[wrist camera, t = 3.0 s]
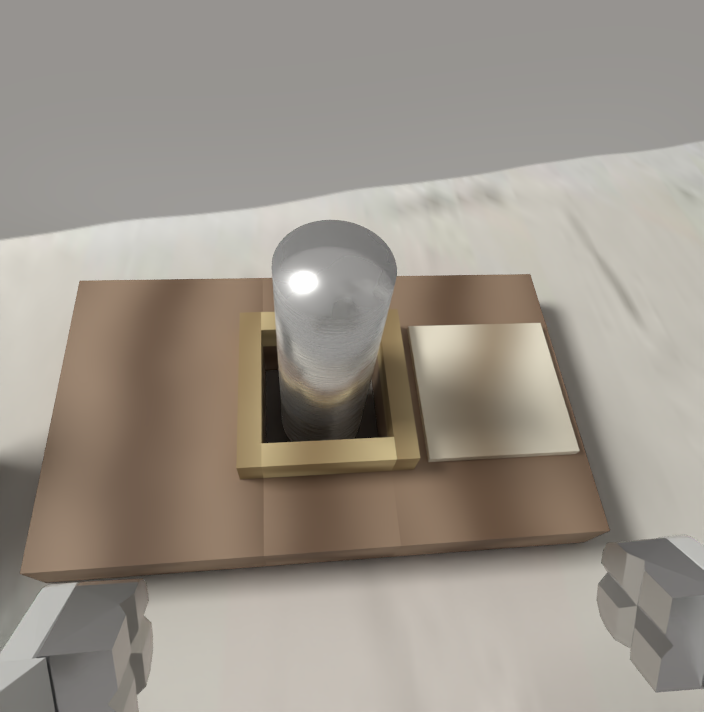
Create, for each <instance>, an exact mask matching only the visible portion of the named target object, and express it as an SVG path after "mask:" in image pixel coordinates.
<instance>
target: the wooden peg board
mask: <svg viewBox="0 0 704 712" xmlns="http://www.w3.org/2000/svg"><path fill="white" fill-rule="evenodd" d="M269 370H279V368H278V353H277V338H276V324H275V309H274V295H273V280H272V278H241V279H171V280H102V281H80V282H79V286H78V291H77V296H76V301H75V306H74V311H73V316H72V321H71V326H70V330H69V335H68V340H67V345H66V350H65V355H64V360H63V365H62V370H61V375H60V379H59V384H58V389H57V394H56V399H55V404H54V409H53V414H52V419H51V423H50V428H49V433H48V438H47V443H46V448H45V453H44V458H43V463H42V467H41V472H40V477H39V482H38V487H37V492H36V497H35V502H34V507H33V511H32V516H31V521H30V526H29V531H28V536H27V541H26V546H25V551H24V555H23V560H22V565H21V570H20V574H22V575H25V576H28V577H31V578H34V579H36V580H39V581H42V582H45V583H50V582H63V581H77V580H90V579H103V578H117V577H130V576H143V575H157V574H170V573H183V572H196V571H210V570H223V569H236V568H250V567H263V566H276V565H290V564H303V563H316V562H329V561H343V560H356V559H369V558H383V557H396V556H409V555H423V554H436V553H449V552H462V551H476V550H489V549H502V548H516V547H529V546H542V545H556V544H569V543H582V542H586V541H588V540H590V539H593V538H595V537H597V536H599V535H602V534H604V533H606V532H608V531H610V529H609V526H608V523H607V519H606V516H605V513H604V510H603V507H602V503H601V500H600V497H599V494H598V490H597V487H596V484H595V481H594V478H593V474H592V471H591V468H590V465H589V462H588V458H587V455H586V452H585V449H584V445H583V442H582V439H581V436H580V433H579V429H578V426H577V423H576V420H575V417H574V413H573V410H572V407H571V404H570V401H569V397H568V394H567V391H566V388H565V384H564V381H563V378H562V375H561V372H560V368H559V365H558V362H557V359H556V356H555V352H554V349H553V346H552V343H551V339H550V336H549V333H548V330H547V327H546V323H545V320H544V317H543V314H542V311H541V307H540V304H539V301H538V298H537V294H536V291H535V288H534V285H533V282H532V278H531V275H530V274H518V275H449V276H397V277H396V282H395V286H394V290H393V294H392V298H391V302H390V306H389V310H388V314H387V318H386V322H385V326H384V330H383V334H382V338H381V342H380V346H379V350H378V354H377V358H376V362H375V366H374V370H373V374H372V387H373V396H374V404H375V413H376V422H377V430H378V438H362V439H342V440H322V441H301V442H281V443H266V371H269Z"/></svg>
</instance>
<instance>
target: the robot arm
mask: <svg viewBox="0 0 704 712" xmlns="http://www.w3.org/2000/svg"><path fill="white" fill-rule="evenodd" d="M601 563H602V565H603V566H604V568H605V569H606V571H607V574H606V575H605V576H604V577H603V578H602V580H601V581H600V582H599V583H598V591H597V604H598V608H599V613H600V617H601V619H602V621H603V623H604V625H605V627H606V629H607V630H608V632H609V633H610V634H611V636H612V637H613V638H614V639H615V640H616V641H618V642H620V643H622V644H623V645H625V646H627V647H629V648H630V660H631V662H632V663H633V664H634V666H635V667H636V668H637V669H638V671H639V672H640V673H641V674H642V676H643V677H644V678H645V680H646V681H647V682H648V683H649V685H650V686H651V687H652V689H653V690H654V691H655V692H667V691H679V690H692V689H704V545H703V544H701V543H700V542H699V541H698V540H696V539H695V538H693V537H691V536H688V535H676V536H667V537H659V538H656V539H645V540H633V541H622V542H610V543H607V544H606V546H605V548H604V549H603V553H602V560H601ZM148 601H149V597H148V591H147V584H146V582H145V581H144V579H143V578H142V579H124V580H107V581H89V582H81V583H78V582H74V583H61V584H49V585H47V586H45V587H44V588H42V589H41V590H40V592H39V594H38V595H37V597H36V598H35V600H34V601H33V603H32V604H31V606H30V608H29V609H28V611H27V612H26V614H25V615H24V617H23V618H22V620H21V622H20V623H19V625H18V626H17V628H16V629H15V631H14V632H13V634H12V636H11V637H10V639H9V640H8V642H7V643H6V645H5V646H4V648H3V650H2V651H1V653H0V712H139V709H138V701H137V695H138V694H139V693H140V692H141V691H142V690H143V689H144V688H145V687H146V685H147V681H148V677H149V674H150V669H151V662H152V654H153V632H152V623H151V622H150V621H149V620H148V619H147V618H146V617H145V616H144V613H145V610H146V607H147V604H148Z"/></svg>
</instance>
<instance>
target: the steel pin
mask: <svg viewBox="0 0 704 712" xmlns="http://www.w3.org/2000/svg"><path fill="white" fill-rule="evenodd" d="M396 277H397V266H396V262H395V258H394V256H393V254H392V252H391V250H390V248H389V247H388V246H387V244H386V243H385V242H384V241H383V240H382V239H381V238H380V237H379V236H377V235H376V234H375V233H373V232H372V231H370V230H368V229H367V228H364V227H362V226H360V225H357V224H354V223H351V222H346V221H340V220H322V221H316V222H312V223H308V224H305V225H303V226H300V227H299V228H297V229H295V230H293V231H292V232H290V233H289V234H288V235H287V236H286V237H284V238H283V240H282V241H281V242H280V243H279V245H278V246H277V248H276V250H275V252H274V255H273V259H272V280H273V295H274V309H275V324H276V338H277V353H278V368H279V382H280V397H281V412H282V424H283V428H284V431H285V433H286V435H287V437H288V438H289V439H290V441H291V442H301V441H322V440H342V439H354V438H355V436H356V434H357V432H358V430H359V426H360V422H361V418H362V414H363V410H364V406H365V402H366V398H367V394H368V390H369V386H370V382H371V378H372V374H373V370H374V366H375V362H376V358H377V354H378V350H379V346H380V342H381V338H382V334H383V330H384V326H385V322H386V318H387V314H388V310H389V306H390V302H391V298H392V294H393V290H394V286H395V282H396Z"/></svg>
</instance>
